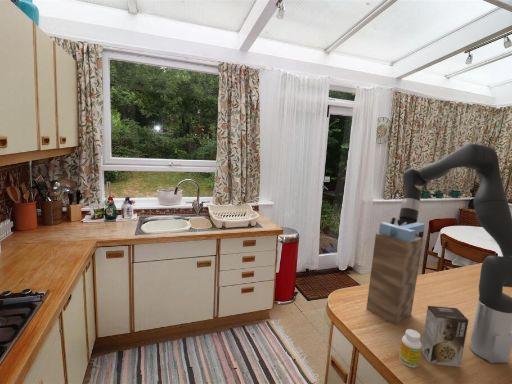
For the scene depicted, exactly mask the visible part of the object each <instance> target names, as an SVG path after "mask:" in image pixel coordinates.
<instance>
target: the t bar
mask: <svg viewBox="0 0 512 384" xmlns="http://www.w3.org/2000/svg"><path fill="white" fill-rule="evenodd" d="M425 225H426V223H422V222H418V221H417V222H416V223H412V224H408V225H404V226H399V225H398V224H394V225H393V224H390V223H389V222H385V221H383V222H379V229H378V233H381V234H384V235H387V236H390V237H394V238H397V239H400V240H403V241H406V242H412V241H414V236H415V233H417V234H419V232H423V231H424V232H425Z"/></svg>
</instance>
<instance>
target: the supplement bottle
mask: <svg viewBox="0 0 512 384" xmlns="http://www.w3.org/2000/svg"><path fill="white" fill-rule="evenodd" d="M421 348H422V340H421V333H420V332H418V331H417V330H415V329H411V328H408V329H406V330H405V334H404V335H403V336H402V337H401V343H400V350H399V355H398V358H399V361H400V362H401V363H403V364H404V365H405V366H407V367H410V368H417V367H419V364H420V358H421V353H422V351H421Z"/></svg>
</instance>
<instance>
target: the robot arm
mask: <svg viewBox="0 0 512 384" xmlns="http://www.w3.org/2000/svg"><path fill="white" fill-rule="evenodd" d="M457 168H466V169H469V170H470V169H471V170H475V171H476V173H477V176H478V179H479V187H478V189H477V190H476V193H475V195H474V198H473V207H474V208H473V209H474V212H475V217H476V220H477V221H478V223H479V225H480V226H481V227H482V228H483V229H484V231H486V233H487V234H488V235H489V236H490V237H491V238H492V239H493V240H494V242H495V243H496V244H497V245H498V247H499V249H500V252H501V254H502V256H501V255H488V256H486V257H485V258H484V259H483V261H482V264H481V268H480V274H479V282H478V283H479V284H478V294H479V295H478V300H477V307H476V311H475V315H474V321H473V325H472V330H471V335H470V341H469V348H470V350H471V352H473V353H474V354H475V355H477V356H478V357H480V358H481V359H484V360H486V361H488V363H489V364H502V363H503V364H506V363H509V359H510V355H511V351H512V297H511V296H510V295H508V294H506V293H505V292H504V293H503V291H504V290H503V288H512V212H511V209H510V206H509V202H508V199H507V196H506V193H505V189H504V185H503V181H502V175H501V171H500V170H501V169H500V162H499V157H498V153H497V152H496V149H494V148H492V147H490V146H487V145H484V144H478V143H468V144H465V145H463V146H460V147H458V148H457V149H456V150H454V151H453V152H451V153H449V154H448V155H446V156H445V157H443V158H441V159H439V160H437V161H435V162H432V163H429V164H426V165H424V166H422V167H421V168H420V169H419V170H418V169H415V168H411V167H410V168H407V169H406V170H405V171H404V173H403V176H402V181H403V189H404V193H403V198H402V202H401V205H400V210H399V215H398V219H397V218H395V217H392V218H390V224H393V225H395V224H397V226H404V225H408V224H412V223H416V222H418V217H419V212H420V203H421V197H422V191H421V190H420V189H419V188H418V187H423V186H426V185H427V184H428V183H431V181H433V180H436V179H439V178H442V177H444V176H447V174H448V173H449V172H450V171H451V170H452V169H457ZM424 232H425V230H424V231H423V232H419V233H415V236H417V237H421V238H423V239H424V234H425V233H424Z"/></svg>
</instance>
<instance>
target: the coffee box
mask: <svg viewBox="0 0 512 384" xmlns="http://www.w3.org/2000/svg"><path fill="white" fill-rule="evenodd" d="M468 325H469V319H468V318H467V317H466V316H465V314H463V313H462V311H460V310H459V308H457V307H449V306H447V307H446V306H436V305H435V306H434V305H428V306H427V311H426V317H425V323H424V329H423V335H422V340H421V343H422V348H421V353H422V354H423V355H424V357H425V358H426V360H427V361H428V363H429V364H430V365H440V366H449V367H457V368H458V367H459V368H460V367H461V365H462V359H463V353H464V347H465V341H466V338H467V336H466V335H467V331H468Z"/></svg>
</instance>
